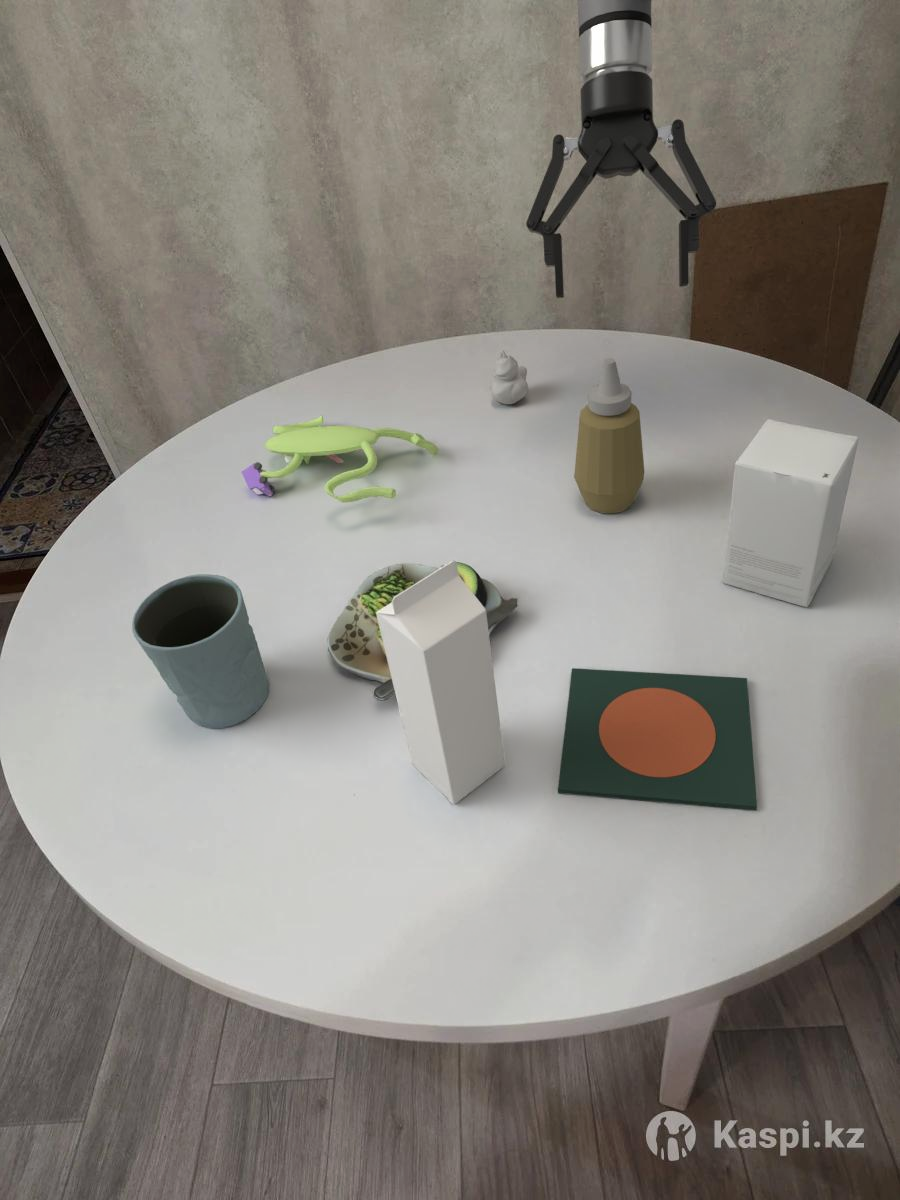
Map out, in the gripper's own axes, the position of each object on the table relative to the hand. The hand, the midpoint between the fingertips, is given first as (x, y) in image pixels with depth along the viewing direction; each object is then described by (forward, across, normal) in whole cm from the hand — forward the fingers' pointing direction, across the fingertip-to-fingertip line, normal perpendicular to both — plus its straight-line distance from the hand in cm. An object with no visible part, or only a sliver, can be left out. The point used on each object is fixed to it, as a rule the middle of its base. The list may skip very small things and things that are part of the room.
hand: (621, 291), depth 97 cm
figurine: (+19, +36, -6) cm, 42 cm away
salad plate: (+33, +22, +19) cm, 44 cm away
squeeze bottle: (+24, +2, 0) cm, 24 cm away
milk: (+42, +16, +34) cm, 56 cm away
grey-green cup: (+38, +40, +28) cm, 62 cm away
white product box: (+30, -15, +11) cm, 36 cm away
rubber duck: (+11, +15, -22) cm, 29 cm away
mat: (+40, -2, +31) cm, 51 cm away
